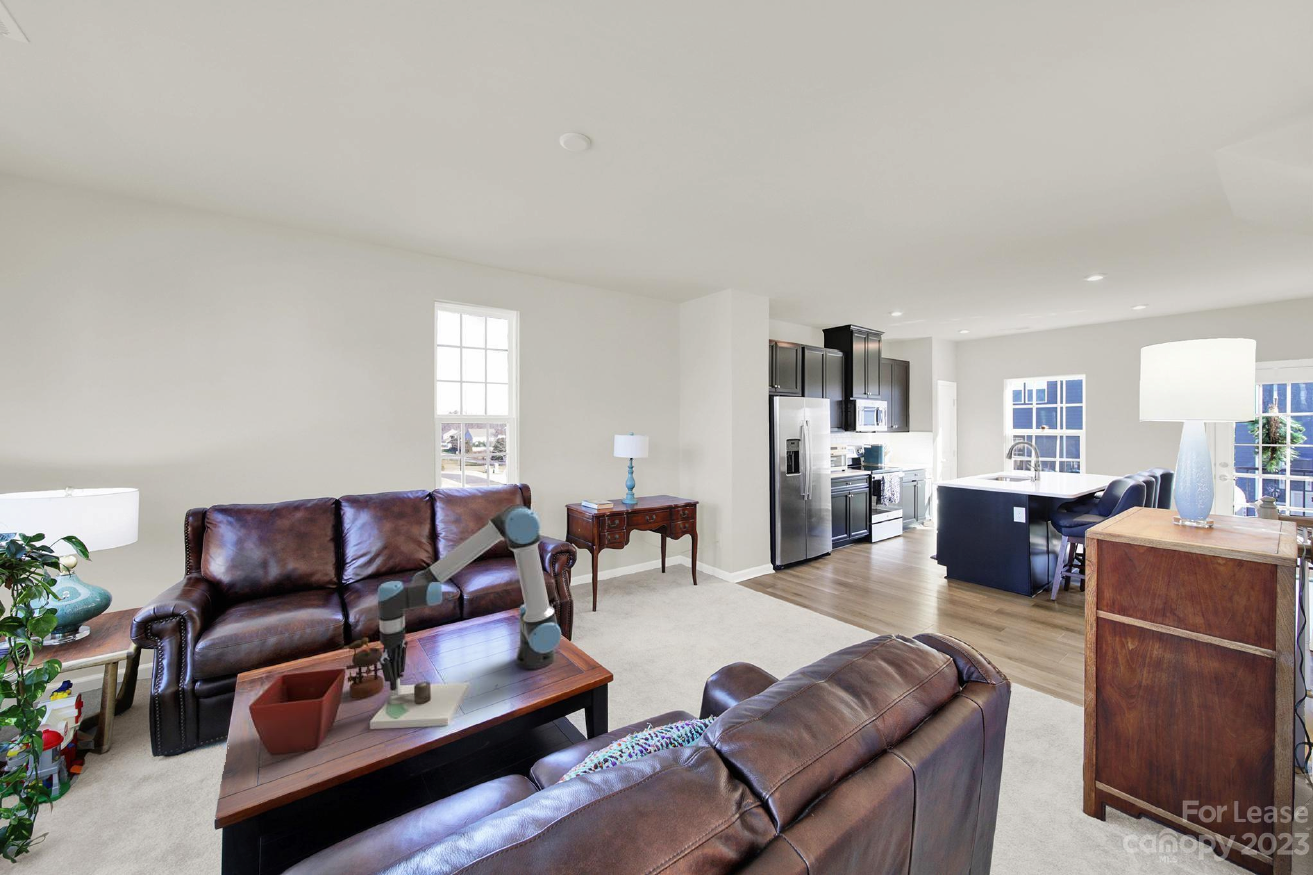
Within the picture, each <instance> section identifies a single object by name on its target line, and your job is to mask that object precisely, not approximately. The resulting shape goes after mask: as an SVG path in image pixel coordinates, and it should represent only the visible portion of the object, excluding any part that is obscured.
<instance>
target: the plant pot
mask: <svg viewBox="0 0 1313 875" xmlns="http://www.w3.org/2000/svg"><path fill="white" fill-rule="evenodd" d="M346 671H347V670H346V668H344V667H343V668H342V667H341V668H333V669H332V668H331V669H323V670H313V671H302V672H294V673H293V672H292V673H284V674H280V675H279V676H278V677H277V678H276V679H274V681H273V682H272V683H271V684H270V685H269V686H267V688H266V689H265V690H264V691H263V692H262V693H261V694H260V695H259V696H258V697H256V699H254V701H252V702H251V703H250V704H249V706H248V710H249V713H250V717H251V720H252V723H253V726H254V728H255V730H256V733H257V735H258V737H259V739H260V740H261V742H262V745H263V746H264V747H265V749H266V750H267V752H268V753H269V755H275V756H276V755H281V754H289V753H296V752H303V751H312V750H316V749H317V748H319V747H320V745H322V742H323V741H324V739H325V738H326V737H327V735H328V734H329V732H330V731H331V730H332V728H333V726H334V724H335V721H336V719H337V714H338V711H339V709H340V708H339V707H340V703H341V699H342V695H343V690H344V685H345V679H346Z"/></svg>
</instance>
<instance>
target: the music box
mask: <svg viewBox="0 0 1313 875" xmlns="http://www.w3.org/2000/svg"><path fill="white" fill-rule="evenodd" d="M364 646H367V647H366V648H364V649H361V648H363V647H364ZM346 649H348V656H349V658H348V660H351V655H350V652H351V650H354V652H353V656H352V661H351V662H352V664H349V665H346V666H345V667H346V668H345V669H346V671H347V670H349V676H348V677H347V683H350V685H349V697H350V698H352V699H353V700H364V699H368V698H372V697H374V696H376V695H378V694H380V693H381V692H382V691H383V689H384V677H382V676H381V675H378V672H380V671H382V667H380V668H379V667H378V663H380V662H379V661H378V659H379V657H382V656H383V651H382V650H381V649H380V648H377V647H369V638H368V637H363V638H361V639H358V640H356V641H354V642H352V643H351V644H349V645H344V646H343V647H342V650H346ZM358 649H361V650H359V651H357V650H358ZM372 666H373V669H371V667H372ZM362 668H366V669H365V671H362ZM354 669H358V670H356V671H355V675H354V676H353V675H352V672H351V671H350V670H354ZM372 672H374V674H371V673H372ZM364 674H366V675H364Z"/></svg>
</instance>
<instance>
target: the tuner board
mask: <svg viewBox="0 0 1313 875" xmlns="http://www.w3.org/2000/svg"><path fill="white" fill-rule="evenodd" d="M415 685H416V684H406V685H404V684H402V685H400V686H401V694H409V693H414V686H415ZM430 688H431V699H430V701H428V702H427V703H424V704H416V703H415V701H414V702H405V703H397V704H390V705H387V702H385V703H384V704H383V706H382V707H381V708H380V709H379V710H378V711H377V713H375V715H374V716H373V717H372V718H371V720H370V721H369V729H370V730H378V729H379V730H380V729H381V730H383V729H400V728H402V729H403V728H420V727H421V728H425V727H440V726H441V727H443V726H449V724H450V723H451V721H452V720H453V718H454V716H455V714H457V711H458V710H459V708H460V706H461V704H462V702H463V701H464V699H465V697H466V695H467V694H468V692H469V690H470V682H451V683H450V682H449V683H430Z"/></svg>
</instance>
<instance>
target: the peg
mask: <svg viewBox="0 0 1313 875" xmlns="http://www.w3.org/2000/svg"><path fill="white" fill-rule="evenodd" d="M430 684H431V683H430V681H422V682H418V683H416V684H414V685H415V686H414V693H409V694H401V695H391V694H390V695H387V696H386V699H385V700H386V702H387V705H390V704H397V703H405V702H414V701H415V703H416V704H424V703H427V702H428V701H430V699H431V688H430ZM386 702H385V703H386Z"/></svg>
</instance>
